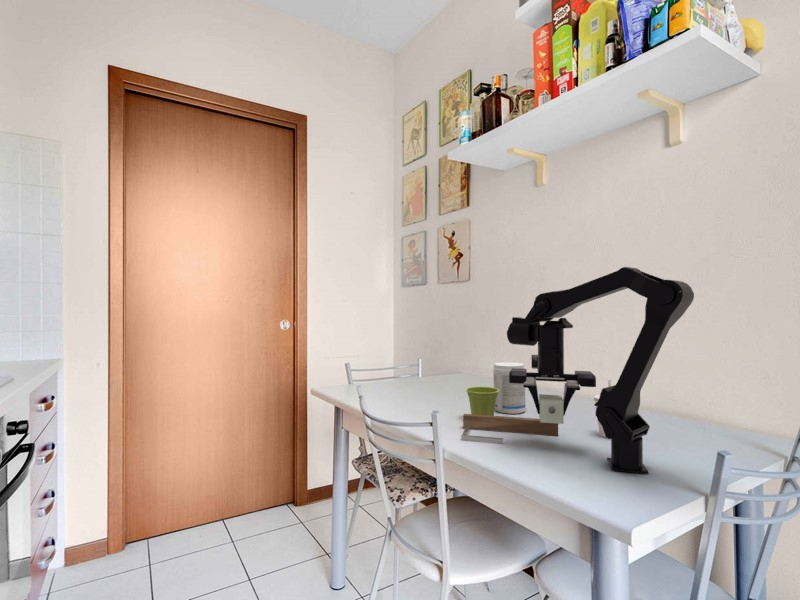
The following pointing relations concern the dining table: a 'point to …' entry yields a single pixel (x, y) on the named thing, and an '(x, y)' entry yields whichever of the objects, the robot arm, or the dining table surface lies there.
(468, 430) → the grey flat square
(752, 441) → the dining table surface
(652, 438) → the dining table surface
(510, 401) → the supplement tub
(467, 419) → the long brown board
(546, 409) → the pale green block
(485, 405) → the plant pot
